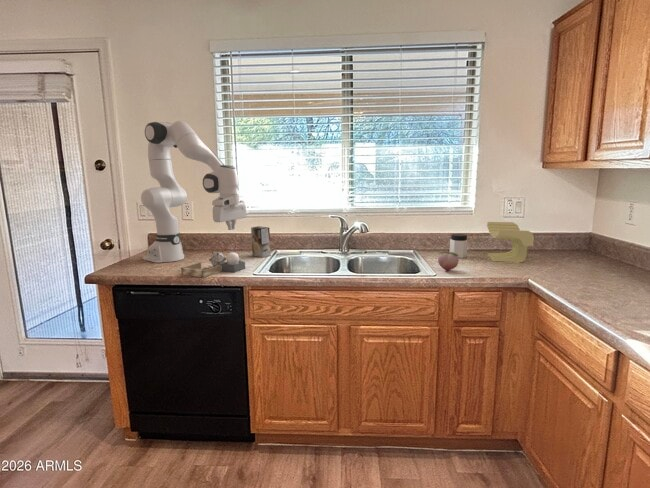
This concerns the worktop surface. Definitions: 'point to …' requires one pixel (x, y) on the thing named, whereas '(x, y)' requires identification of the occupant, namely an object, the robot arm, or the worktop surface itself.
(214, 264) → the grey spiky ball
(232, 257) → the cream ball
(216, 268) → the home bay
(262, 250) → the coffee box
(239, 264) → the base
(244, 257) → the worktop surface
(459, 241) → the jar
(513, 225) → the olive c-shaped block
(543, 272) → the worktop surface
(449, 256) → the decorative fruit
